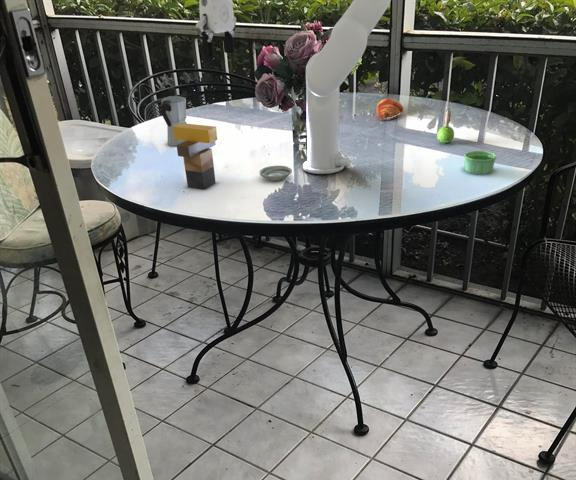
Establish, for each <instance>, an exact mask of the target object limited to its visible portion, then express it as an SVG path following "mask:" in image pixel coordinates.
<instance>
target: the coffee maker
mask: <svg viewBox="0 0 576 480" xmlns="http://www.w3.org/2000/svg"><path fill="white" fill-rule="evenodd" d="M168 92H169V96H167V97H164V98H161V100H160V102H161V106H160V114H161V116H162V118H163V120H164V122H165V124H166V125H167V145H168V146H170V147H176V148H177V145H178V144H180V143H183V142H185V141H184V140H175V139H174V132H173V126H175V125H178V124H180V123H185V124H188V123H187V121H186V119H187V99H186V97H185V96H179V95H176V87H169V88H168Z"/></svg>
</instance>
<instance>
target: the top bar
mask: <svg viewBox="0 0 576 480" xmlns="http://www.w3.org/2000/svg"><path fill="white" fill-rule="evenodd" d="M173 132H174V139H175V140H184V141H192V142H201V143H211V142H213V141H215V142H217V141H218V134H217V133H218V132H217V127H216V126H215V125H206V124H205V125H204V124H195V123H194V124H193V123H187V124H185V123H180V124H178V125H175V126H173Z"/></svg>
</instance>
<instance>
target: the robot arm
mask: <svg viewBox="0 0 576 480" xmlns="http://www.w3.org/2000/svg"><path fill="white" fill-rule="evenodd" d="M391 1H392V0H352V1H351V3H350V5H349V7H348V8H347V9H346V10H345V11H344V13H343V14H342V16H341V17H340V18H339V20H338V21H337V22H336V23H335V24H334V26H333V28H332V30H331V33H330V36H329V38H328V40H327V41H326V42H325V44H324V46H323V47H322V48H321V50H320V51H319V52H316V53H314V54H313V55H312V56H311V57H310V58H309V60H308V61H307V63H306V65H305V85H306V86H305V88H306V90H305V91H306V136H307V137H306V139H307V160H306V161H305V162H304V163H302V168H303V170H304V171H305V172H307V173H310V174H314V175H316V174H317V175H329V174H334V173H338V172H340V171H342V170H343V169H344V168H345V167H350V166H351V163H352V161H351V158H350V157H344V156H343V151H340V86H341V85H342V84H343V83H344V81H345V80H346V79H347V77H348V76H349V75H350V73H352V71H353V69H354V68H355V67H356V66H357V64H358V62H359V61H360V60H361V58H362V57H363V55H364V54H365V51H366V49H367V46H368V38H369V36H370V34H371V33H372V32H373V30H374V29H375V27H376V26H377V24H378V23H379V21H380V20H381V18H382V17H383V16H384V14H385V12H386V11H387V9H388V8H389V5H390V4H391ZM198 6H199V20H198V21H197V23H196V24H195V29H196V31H197V35H198V38H199V39H200V42H201V43H202V53H203V54H202V55H203V59H207V60H208V59H209V60H213V59H215V50H214V49H215V48H214V41H212V40H213V37H214V34H221V33H222V34H223V36H222V40H223V42H222V43H223V52H224V54H235V42H234V37H235V31H236V28H237V27H236V24H237V17H236V16H235V14H234V13H235V12H234V5H233V0H199V2H198Z"/></svg>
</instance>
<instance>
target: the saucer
mask: <svg viewBox="0 0 576 480" xmlns="http://www.w3.org/2000/svg"><path fill="white" fill-rule="evenodd" d="M258 172H259V176H261V177H262V178H264V179H266V180H268V181H269V182H282V181H283V180H285V179H286V178H288V177H289V176H290V175H291V174H292V173H293V169H292V168H291V167H289V166H287V165H269V166H266V167H263V168H261V169H260V170H259V171H258Z"/></svg>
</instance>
